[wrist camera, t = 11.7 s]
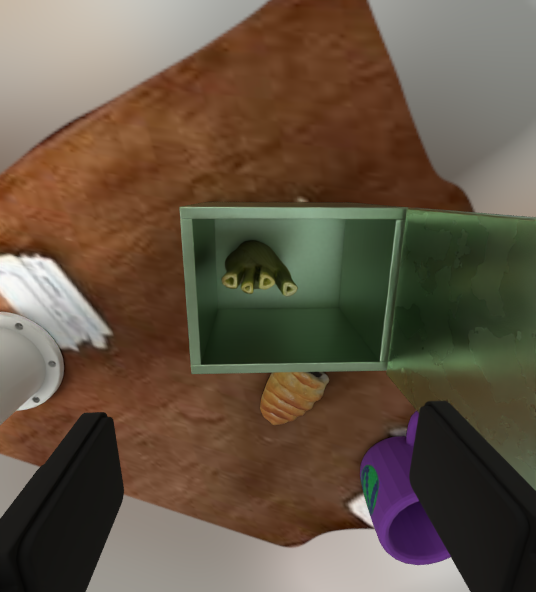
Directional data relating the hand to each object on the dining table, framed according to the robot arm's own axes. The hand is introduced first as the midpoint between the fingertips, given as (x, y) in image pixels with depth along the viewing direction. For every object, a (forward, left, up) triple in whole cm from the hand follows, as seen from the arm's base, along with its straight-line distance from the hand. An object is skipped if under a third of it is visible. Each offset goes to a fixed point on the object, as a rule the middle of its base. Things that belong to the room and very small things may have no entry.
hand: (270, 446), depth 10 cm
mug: (+19, -26, -29) cm, 43 cm away
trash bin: (+2, 0, -29) cm, 29 cm away
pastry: (+4, -16, -29) cm, 33 cm away
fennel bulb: (0, 0, -28) cm, 28 cm away
